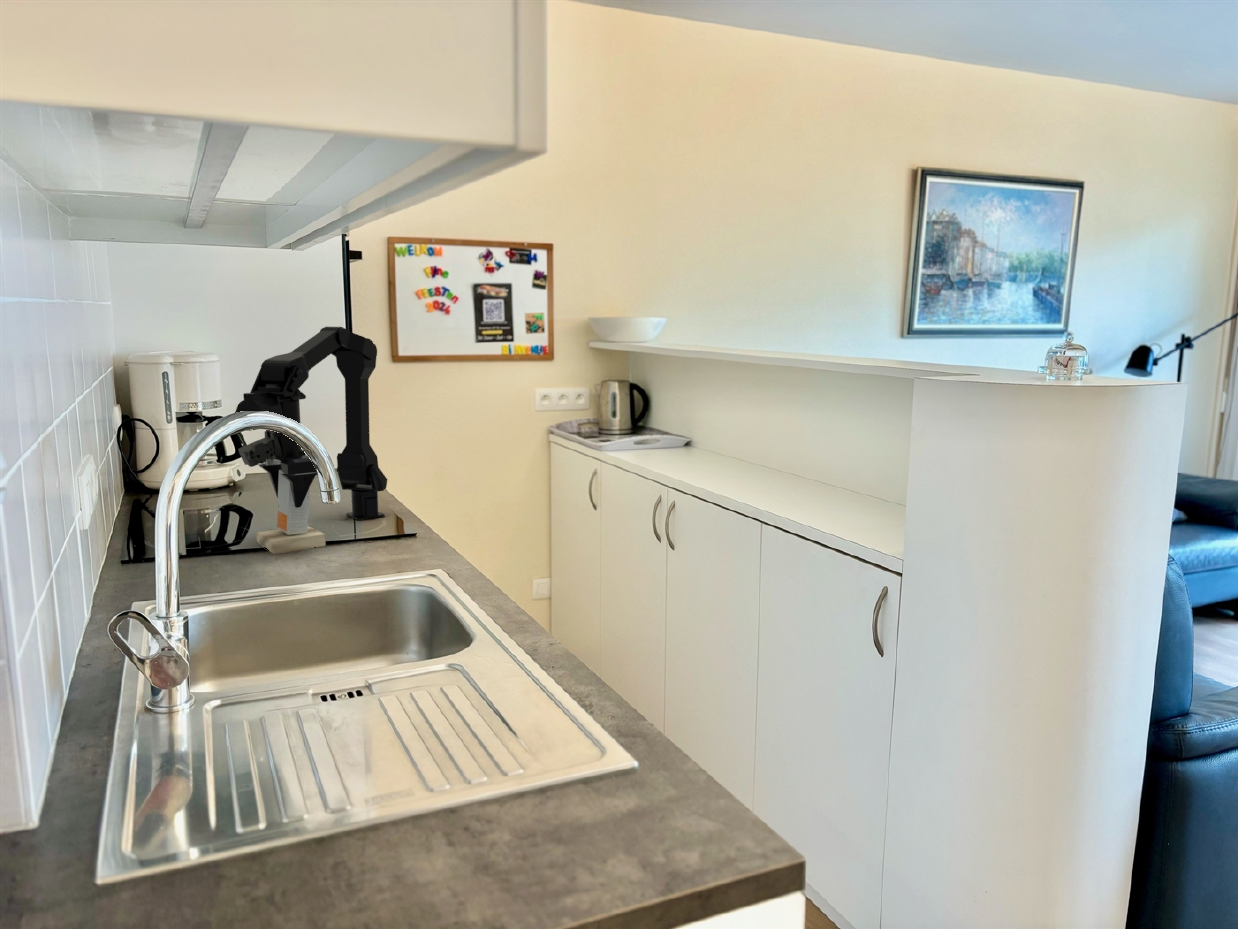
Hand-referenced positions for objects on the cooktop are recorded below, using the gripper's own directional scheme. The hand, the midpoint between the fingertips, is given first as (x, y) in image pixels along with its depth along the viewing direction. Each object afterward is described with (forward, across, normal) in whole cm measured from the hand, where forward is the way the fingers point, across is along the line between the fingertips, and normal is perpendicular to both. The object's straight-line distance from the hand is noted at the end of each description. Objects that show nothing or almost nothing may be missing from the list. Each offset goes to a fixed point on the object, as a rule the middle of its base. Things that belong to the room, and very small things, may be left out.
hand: (289, 503), depth 177 cm
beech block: (+9, 0, 0) cm, 9 cm away
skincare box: (+6, 0, 0) cm, 6 cm away
